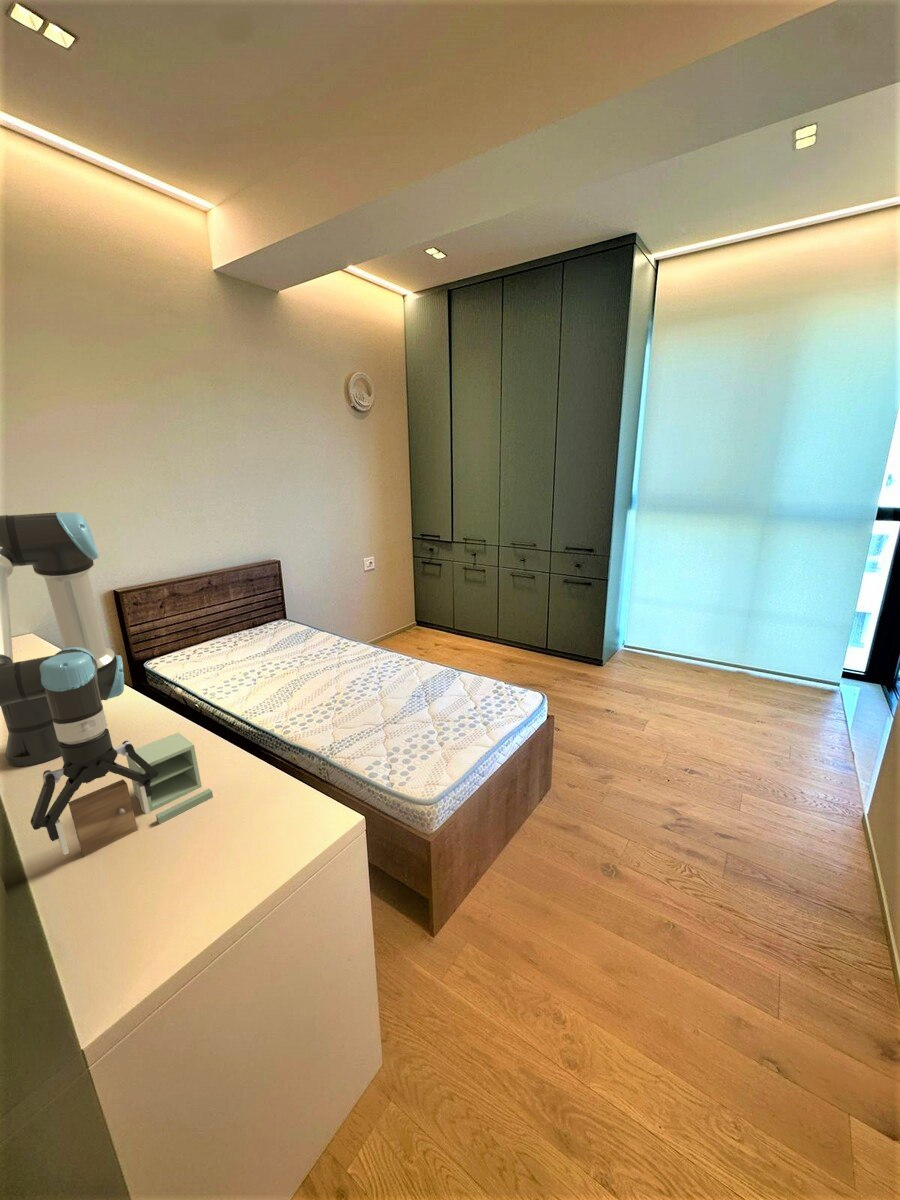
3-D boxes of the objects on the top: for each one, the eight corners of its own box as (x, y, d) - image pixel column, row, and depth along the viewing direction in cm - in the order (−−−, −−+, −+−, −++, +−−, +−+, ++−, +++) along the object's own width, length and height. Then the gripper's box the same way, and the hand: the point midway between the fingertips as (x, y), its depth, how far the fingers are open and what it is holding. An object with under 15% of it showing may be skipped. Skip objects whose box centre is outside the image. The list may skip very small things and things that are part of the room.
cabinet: (131, 796, 107) (121, 754, 104) (185, 772, 116) (178, 732, 113) (155, 826, 97) (145, 780, 95) (213, 796, 106) (205, 753, 103)
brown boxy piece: (81, 850, 92) (68, 802, 89) (133, 824, 98) (123, 779, 95) (86, 859, 89) (72, 810, 87) (139, 832, 96) (128, 785, 93)
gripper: (-4, 774, 77) (29, 880, 82) (163, 714, 95) (181, 804, 100) (-10, 757, 81) (21, 859, 87) (150, 704, 100) (168, 790, 105)
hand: (107, 830), depth 93 cm, fingers open, 13 cm apart
